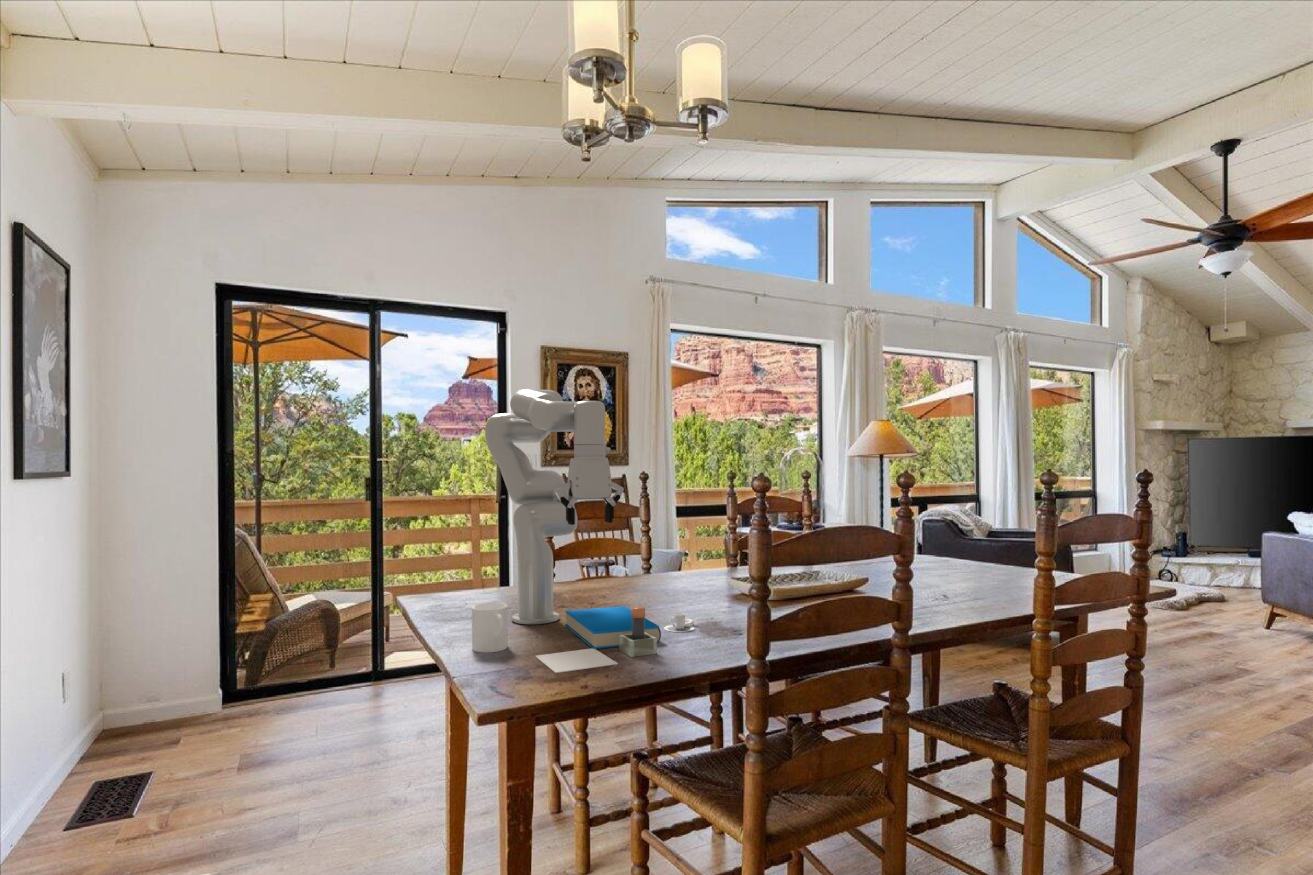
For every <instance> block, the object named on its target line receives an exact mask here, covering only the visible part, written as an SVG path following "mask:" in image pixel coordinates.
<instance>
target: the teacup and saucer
mask: <svg viewBox="0 0 1313 875" xmlns="http://www.w3.org/2000/svg"><path fill="white" fill-rule="evenodd" d="M670 619H671V620H670V621H671V622H670V623H671V624H668V625H666V626H664V627H663V630H664V631H667V632H670V633H671V632H672V633H687V632H692V631H694V630H695V627H694V626H693V625H694V624H695V621H694V620H693V619H690V618H686V613H683V612H674V613H672V617H671V618H670ZM672 627H674V629H675V630H670V629H669V628H672ZM685 628H689V629H687V630H684V629H685Z"/></svg>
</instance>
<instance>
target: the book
mask: <svg viewBox="0 0 1313 875" xmlns="http://www.w3.org/2000/svg"><path fill="white" fill-rule="evenodd" d="M564 613H565V614H566V616H565V617H566V618H565V619H566V622H565V623H564V626H565V627H566V628H567V629H568V630H570V631H571V632H572V633H573V634H575V635H576V636H577V637H578V638H579V639H581V640H582V641H583V642H584V643H585V644H587V645H588V647H591V648H593V649H596V650H597V649H607V648H617V647H618V648H619V635H624V634H632V613H631V608H628V606H625V605H621V606H610V607H609V606H607V607H596V608H583V609H569V610H565V612H564ZM644 621H645V632H646V633H648V634H650V635H652V636H654V637H656V638H657V644H659V643H660V641H661V637H662V631H661V628H660V626H659V624H656V623H654V622H653V621H651V620H649V619H647V618H646V617H644Z"/></svg>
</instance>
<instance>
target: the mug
mask: <svg viewBox="0 0 1313 875" xmlns="http://www.w3.org/2000/svg"><path fill="white" fill-rule="evenodd" d="M508 608H509V607H508V604H506V603H504V602H503V603H502V602H484V603H483V602H482V603H477V604H474V605H473V606H472V607H471V638H472V639H471V649H472V651H474V652H477V653H482V654H483V653H484V654H485V653H487V654H488V653H498V652H502V651H504V650H507V648H508V647H509V646H508V645H509V644H508V643H509V640H508V638H509V636H508V635H509V634H508V631H509V630H508V626H509V624H508V612H509V611H508Z"/></svg>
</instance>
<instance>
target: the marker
mask: <svg viewBox="0 0 1313 875" xmlns="http://www.w3.org/2000/svg"><path fill="white" fill-rule="evenodd" d="M630 610H631V613H632V640H637V639H645V621H644V618H646V607H645V606H632V607H631V608H630Z"/></svg>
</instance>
